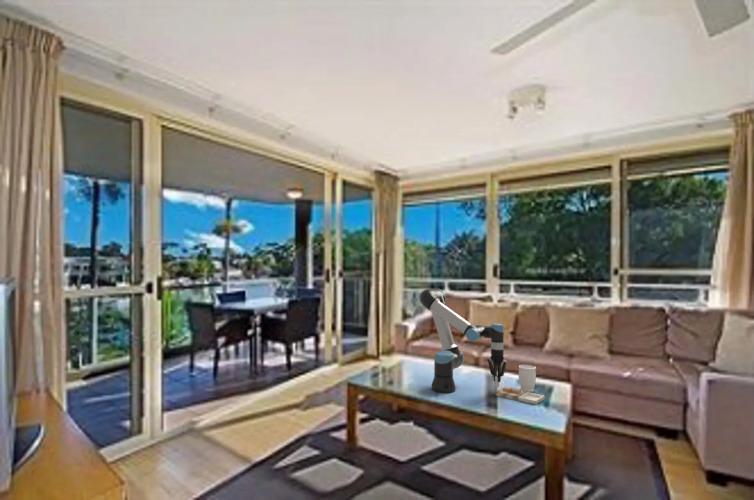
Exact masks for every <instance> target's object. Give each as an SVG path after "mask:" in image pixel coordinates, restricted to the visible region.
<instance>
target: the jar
mask: <svg viewBox="0 0 754 500" xmlns="http://www.w3.org/2000/svg"><path fill="white" fill-rule="evenodd" d="M518 368H519V370H518V381H519V382H518V383H519V385H520V388H519V389H521V391H525V392H526V393H527V392H530V393H534V392H535V389H534V388H535V385H536V382H537V372H536V370H537V368H536V366H535V365H529V364H521V365H519V366H518Z"/></svg>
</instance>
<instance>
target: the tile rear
mask: <svg viewBox="0 0 754 500" xmlns="http://www.w3.org/2000/svg"><path fill="white" fill-rule="evenodd" d="M502 388H503V391H505V392H511V389H513V388H514V387H510V386H503V387H502Z"/></svg>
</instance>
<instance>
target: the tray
mask: <svg viewBox="0 0 754 500" xmlns="http://www.w3.org/2000/svg"><path fill="white" fill-rule="evenodd" d="M545 399H546V396H545V395H544V394H538V393H535V392H526V393H525V394H523V395H521V396H519V397H518V400H517V402H520V403H525V404H530V405H536V406H537V405H539V404H540V403H541V402H543V401H544V400H545Z"/></svg>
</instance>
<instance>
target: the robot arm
mask: <svg viewBox="0 0 754 500" xmlns="http://www.w3.org/2000/svg"><path fill="white" fill-rule="evenodd" d="M446 298H447V297H446V294H445V292H444V291H443V290H442V289H440V288H435V287H434V288H426V289H424V290H422V291H421V293H420V295H419V302H420V303H421V305H422V306H423V307H424V308H426V309H427V310H428V311H430V313H432V317H433V320H434V321H433V322H434V324H435V327H436V330H437V334H438V337H439V341H440V344H441V349H440V350H438V351H436V352H435V353H434V359H433V360H434V364H433V365H434V367H433V368H434V369H433V370H434V373H433V374H434V377H433V380H432V383H431V387H430V389H431V390H432V391H433V392H438V393H443V394H448V393H454V392H455V391H456V388H457V387H456V384H455V380H454V370H455V369H458V368H460V367H461V366H462V365H463V363H464V360H465V358H464V356H465V355H464V354H463V352H462V350H460V348H459V346H458V345H457V344H456V343H455V340H454V338H453V337H454V336H453V333H452V330H451V327H450V325H451V326H452V327H454V328H455V329H456V330H458V331H459V332H461V333H462V334H463V335H465V337H466V339H467V340H468V342H469V341H470V342H476V341H478V340H481V339H490V348H491V349H490V357H489V358H487V359H486V360H487V363H488V366H489V367H488V368H489V371H490V375H491V376H493V382H494V388H500V383H501V377H504V376H505V371H506V367H507V365H508V361H507V360H505V358H504V355H505V354H504V344H505V343H504V340H505V339H504V338H505V337H504V332H505V331H504V325H503V324H502V323H495V322H494V323H491V325H490V326H486V325H480V324H478V325H477V324H475V325H473V324H471V323H470V322H469V321H467V320H466V319H465V318H464V317H462V316H461V315H460V314H458V313H456V312H455V311H454V310H452V309H451V308H449V307H448V306H447V305H446V300H447V299H446Z"/></svg>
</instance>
